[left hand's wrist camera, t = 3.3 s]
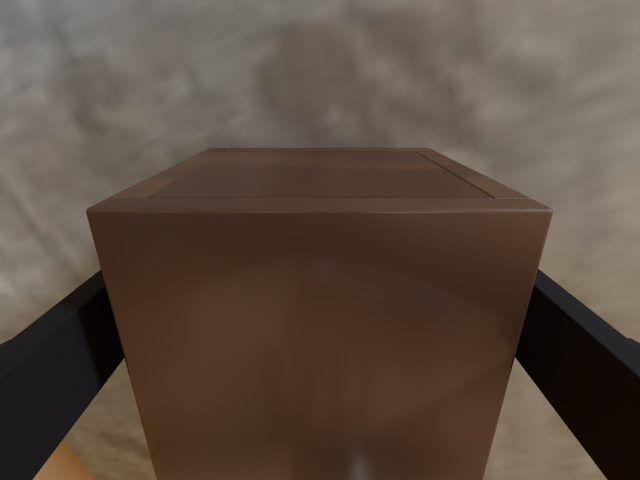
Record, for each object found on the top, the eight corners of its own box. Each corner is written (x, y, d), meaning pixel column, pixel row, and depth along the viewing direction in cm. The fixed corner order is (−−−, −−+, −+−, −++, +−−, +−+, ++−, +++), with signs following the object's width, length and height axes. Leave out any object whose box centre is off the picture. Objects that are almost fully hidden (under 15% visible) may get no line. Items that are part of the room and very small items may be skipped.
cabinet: (400, 407, 23) (450, 605, 14) (240, 407, 23) (188, 605, 14) (430, 148, 17) (555, 208, 8) (209, 147, 17) (83, 208, 8)
